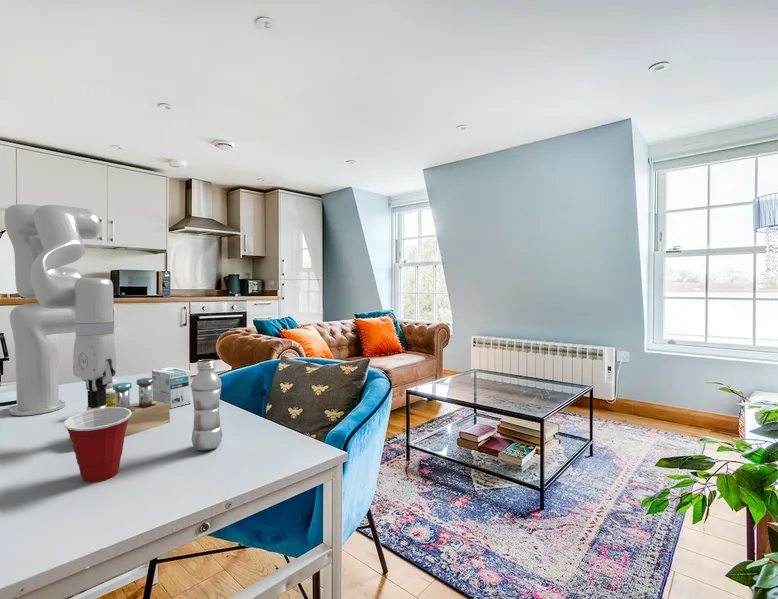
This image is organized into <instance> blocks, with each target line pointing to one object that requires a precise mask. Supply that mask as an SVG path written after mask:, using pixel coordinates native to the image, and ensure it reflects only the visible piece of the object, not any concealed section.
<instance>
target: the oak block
mask: <svg viewBox="0 0 778 599" xmlns="http://www.w3.org/2000/svg"><path fill="white" fill-rule="evenodd" d="M130 410H131V413H132V415H131V417H130V418H129V420H128V424H127V429H126V432H125V437H128V436H130V435H131V436H132V435H134V434H137V433H140V431H141V432H143V430H144V431H148V430H149V428H150V429H153V428H156V427H158V426H162V425H165V424H168V423H171V422H170V421H171V416H170V415H171V414H170V413H171V411H170V410H171V409H170V405H169V404H168V403H163V402H158V401H153V399H152V406H151V407H148V408H144V409H142V408H139V402H138V403H135V404H131V405H130ZM167 422H168V423H167ZM164 423H165V424H164ZM161 424H162V425H161ZM155 426H156V427H155ZM152 427H153V428H152ZM68 434H69V433H68ZM68 437H69V443H70V444H73V443H72V439H71V438H70V434H69V435H68Z"/></svg>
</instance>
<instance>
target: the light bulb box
mask: <svg viewBox="0 0 778 599" xmlns="http://www.w3.org/2000/svg"><path fill="white" fill-rule="evenodd" d="M151 378H154V383H152V400H153V401H158V402H163V403H168V404H169V405H170V408H172V409H174V407H176V408H178V407H177V406H180V407H182V406H181V405H183V406H186V405H185V404H187V405H190V404H189V403H191V404H192V394H191V393H192V389H191V369H190V370H189V369H183V368H178V367H173V366H169V367H163V368H156V369H151Z"/></svg>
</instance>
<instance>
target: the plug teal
mask: <svg viewBox="0 0 778 599" xmlns="http://www.w3.org/2000/svg"><path fill="white" fill-rule="evenodd" d="M131 388H132V382H117V384H114V385H113V390H115V407H121V408H127V409H129V410H130V389H131Z"/></svg>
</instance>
